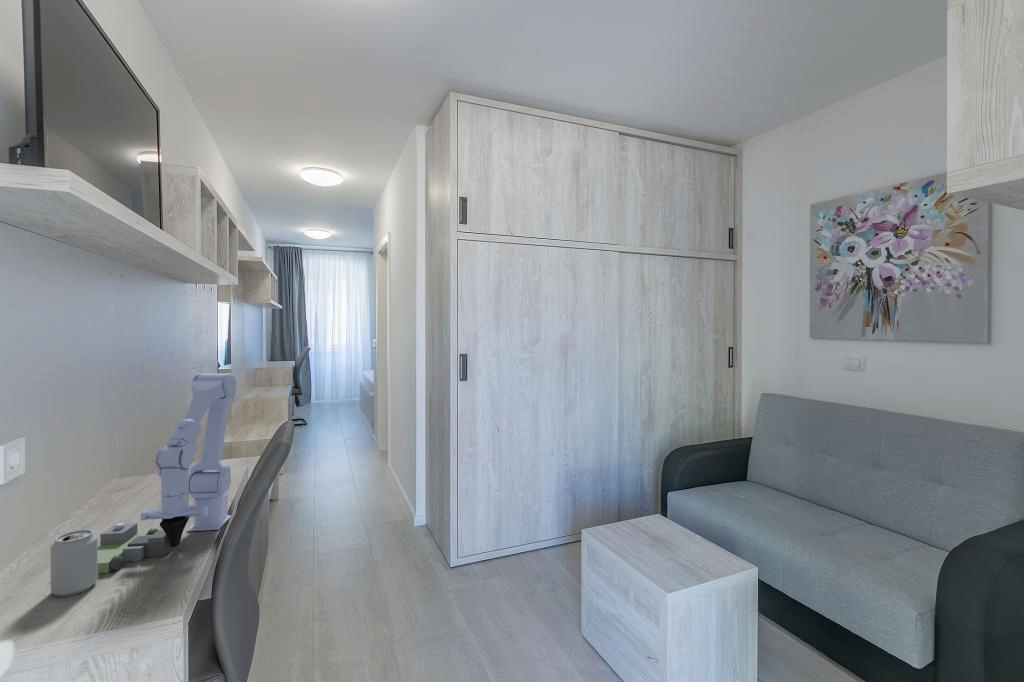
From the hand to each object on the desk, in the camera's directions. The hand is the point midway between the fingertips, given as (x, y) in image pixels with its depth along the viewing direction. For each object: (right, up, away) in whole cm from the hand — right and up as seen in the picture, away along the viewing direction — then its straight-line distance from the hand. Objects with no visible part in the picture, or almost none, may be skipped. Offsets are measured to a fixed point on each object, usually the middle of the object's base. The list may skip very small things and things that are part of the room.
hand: (175, 545), depth 119 cm
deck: (-13, -1, -2) cm, 13 cm away
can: (-10, -2, -17) cm, 20 cm away
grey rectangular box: (-5, -1, -1) cm, 6 cm away
